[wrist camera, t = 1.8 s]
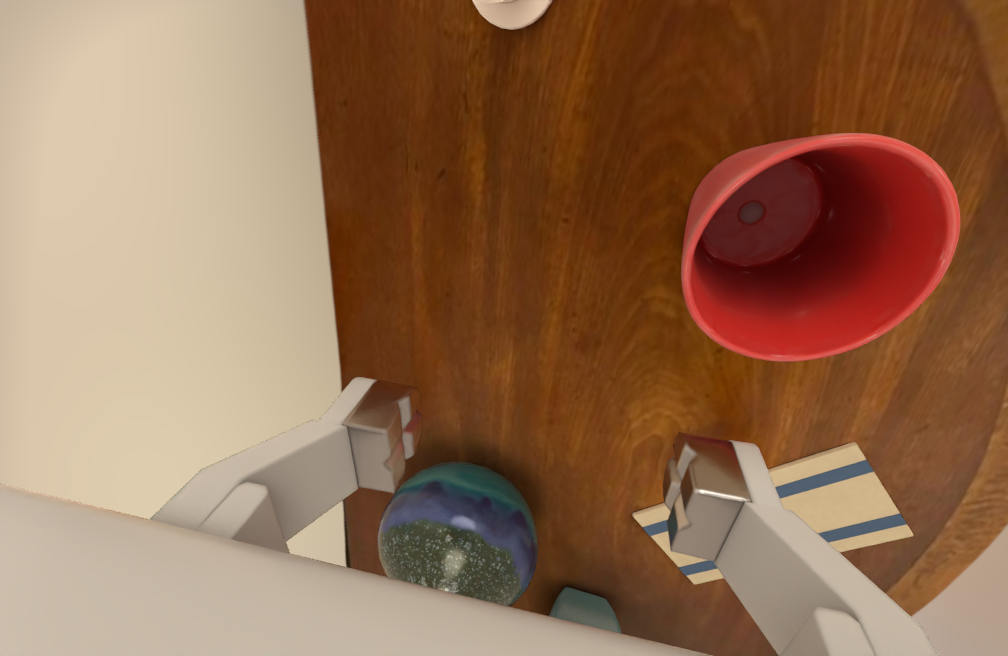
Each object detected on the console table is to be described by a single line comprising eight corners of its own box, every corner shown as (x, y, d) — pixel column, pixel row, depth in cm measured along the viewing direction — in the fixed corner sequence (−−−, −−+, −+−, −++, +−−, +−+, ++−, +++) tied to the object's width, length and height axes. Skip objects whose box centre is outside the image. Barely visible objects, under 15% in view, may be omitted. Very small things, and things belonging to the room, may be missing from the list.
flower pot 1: (552, 570, 51) (543, 656, 44) (627, 592, 51) (630, 684, 43) (538, 608, 56) (527, 692, 48) (606, 629, 55) (605, 717, 48)
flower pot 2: (630, 192, 29) (638, 239, 21) (808, 72, 24) (911, 71, 16) (708, 312, 32) (742, 394, 24) (880, 226, 27) (999, 293, 19)
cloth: (854, 441, 35) (857, 445, 34) (911, 531, 38) (914, 537, 38) (632, 512, 44) (632, 517, 44) (693, 581, 47) (694, 585, 47)
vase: (382, 446, 47) (311, 565, 35) (516, 426, 41) (481, 559, 30) (442, 540, 53) (396, 666, 42) (564, 533, 48) (550, 675, 36)
